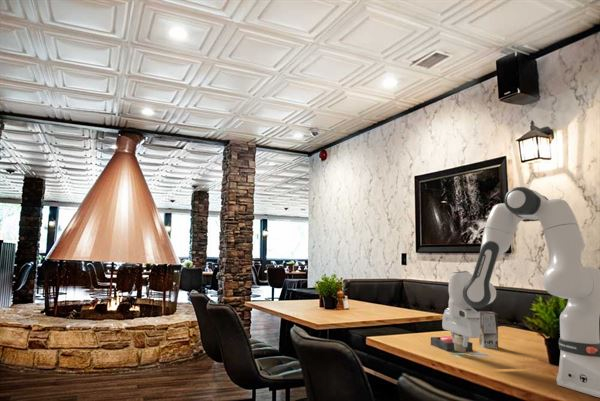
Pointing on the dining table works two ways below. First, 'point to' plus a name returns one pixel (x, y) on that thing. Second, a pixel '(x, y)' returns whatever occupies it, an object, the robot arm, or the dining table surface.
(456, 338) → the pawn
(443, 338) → the dome
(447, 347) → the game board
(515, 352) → the dining table surface
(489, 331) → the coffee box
